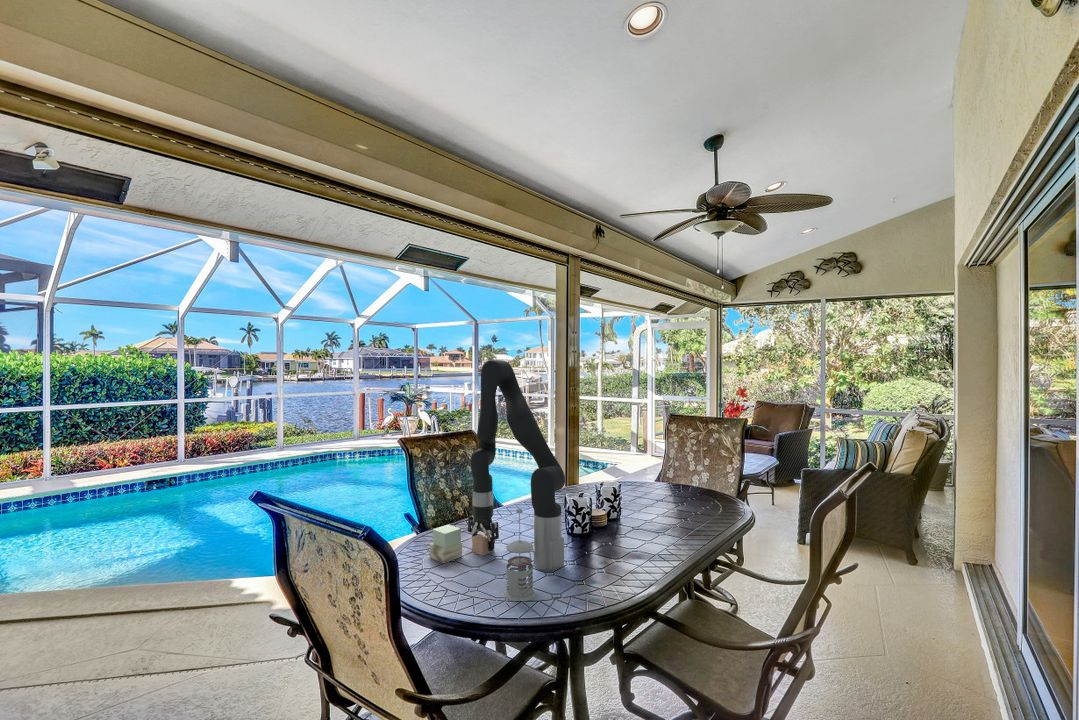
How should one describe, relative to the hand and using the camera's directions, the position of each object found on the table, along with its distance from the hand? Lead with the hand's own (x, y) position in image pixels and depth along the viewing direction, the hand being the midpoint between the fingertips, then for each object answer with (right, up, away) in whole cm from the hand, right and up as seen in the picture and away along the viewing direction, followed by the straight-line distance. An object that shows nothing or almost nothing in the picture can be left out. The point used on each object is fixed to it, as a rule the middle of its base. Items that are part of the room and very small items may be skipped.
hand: (483, 547), depth 177 cm
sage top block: (-12, +4, -5) cm, 14 cm away
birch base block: (-13, -2, -5) cm, 14 cm away
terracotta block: (0, -1, 0) cm, 1 cm away
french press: (+15, -1, -33) cm, 36 cm away
